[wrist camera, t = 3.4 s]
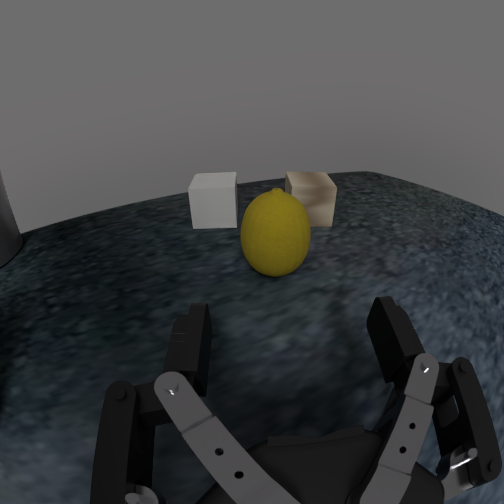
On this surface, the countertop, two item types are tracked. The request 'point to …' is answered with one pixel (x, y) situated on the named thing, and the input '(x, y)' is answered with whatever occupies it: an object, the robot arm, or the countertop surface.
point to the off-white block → (214, 200)
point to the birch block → (313, 195)
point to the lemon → (275, 233)
